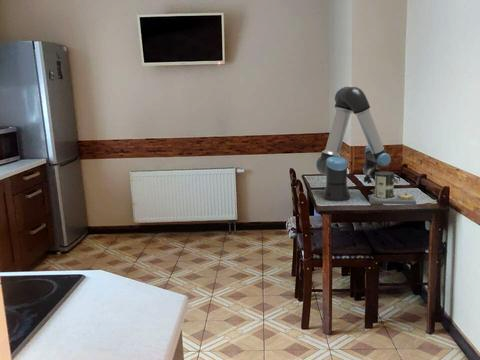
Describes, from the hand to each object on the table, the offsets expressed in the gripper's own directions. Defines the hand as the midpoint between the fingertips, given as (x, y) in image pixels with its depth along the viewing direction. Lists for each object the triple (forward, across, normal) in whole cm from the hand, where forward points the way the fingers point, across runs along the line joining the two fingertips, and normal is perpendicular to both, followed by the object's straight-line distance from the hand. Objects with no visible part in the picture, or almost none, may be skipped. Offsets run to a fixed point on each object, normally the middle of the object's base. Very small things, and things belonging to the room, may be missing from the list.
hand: (386, 182), depth 255 cm
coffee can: (-3, 0, -10) cm, 10 cm away
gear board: (-3, -4, -11) cm, 12 cm away
